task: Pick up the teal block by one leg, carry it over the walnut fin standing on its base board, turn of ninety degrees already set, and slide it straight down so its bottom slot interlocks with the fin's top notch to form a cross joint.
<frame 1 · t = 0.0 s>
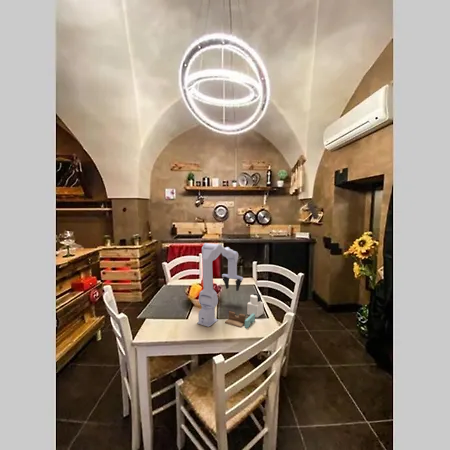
hand: (232, 289, 168), 10 cm above the table, fingers open, 7 cm apart
medicine bottle: (255, 314, 154), on the table
teal block: (249, 324, 141), on the table
joint base: (237, 321, 144), on the table
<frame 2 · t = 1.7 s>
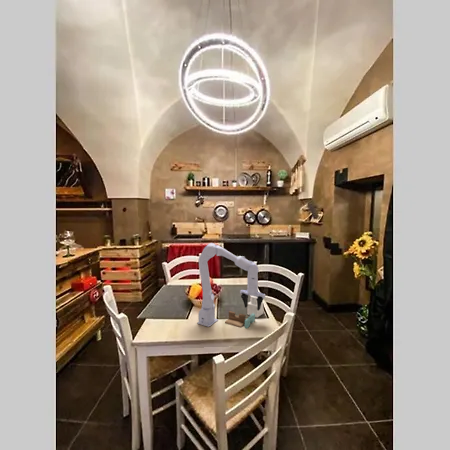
hand: (252, 308, 143), 8 cm above the table, fingers open, 7 cm apart
nothing on the table moved.
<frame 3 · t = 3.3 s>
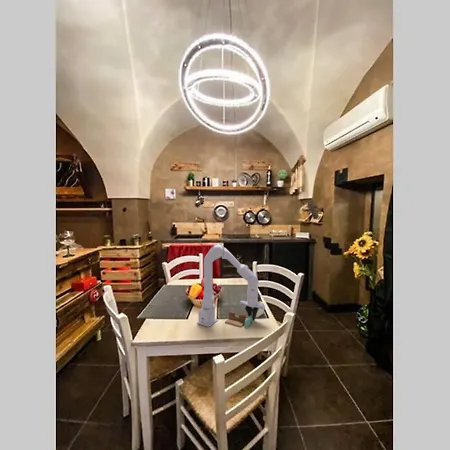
hand: (252, 319, 144), 1 cm above the table, fingers closed on teal block, 1 cm apart
teal block: (249, 323, 141), on the table, touching gripper
everything else where it was.
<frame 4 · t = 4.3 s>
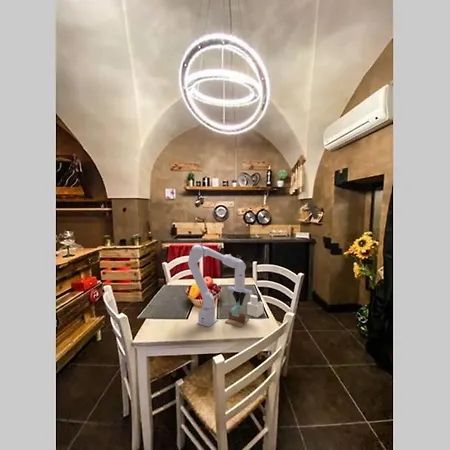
hand: (239, 304, 146), 9 cm above the table, fingers closed on teal block
teal block: (237, 310, 144), point 6 cm above the table, tilted 15°, touching gripper
everything else where it was.
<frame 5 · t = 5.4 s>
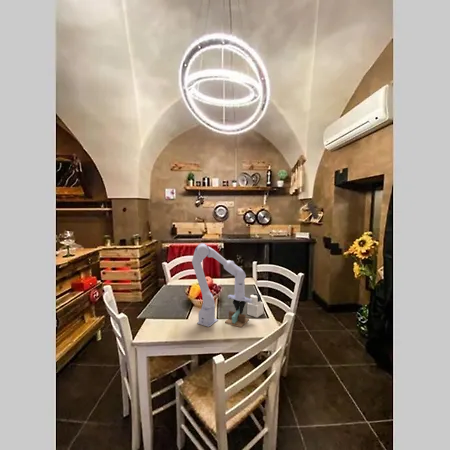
hand: (239, 313, 146), 4 cm above the table, fingers closed on teal block, 1 cm apart
teal block: (237, 318, 145), point 2 cm above the table, tilted 9°, touching gripper, joint base
everything else where it was.
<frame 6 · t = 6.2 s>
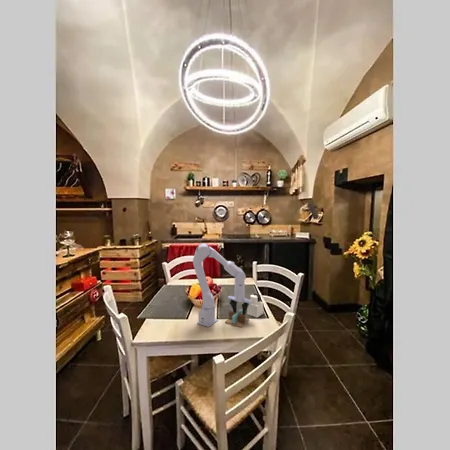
hand: (239, 314, 147), 3 cm above the table, fingers open, 5 cm apart
teal block: (237, 319, 145), point 1 cm above the table, touching joint base
everything else where it was.
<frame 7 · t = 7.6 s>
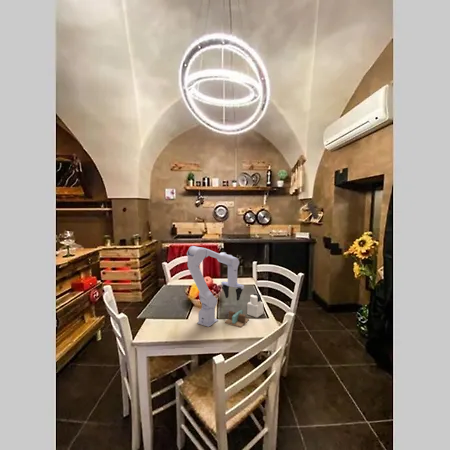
hand: (232, 298, 153), 9 cm above the table, fingers open, 7 cm apart
nothing on the table moved.
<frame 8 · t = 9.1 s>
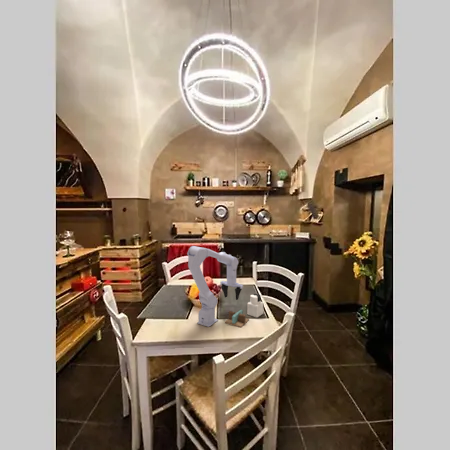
hand: (231, 298, 154), 9 cm above the table, fingers open, 7 cm apart
nothing on the table moved.
at the end: teal block 0.6 cm off-centre on the joint base, point 0.8 cm above the joint base's base; teal block tilted 0°; the gripper is holding nothing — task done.
